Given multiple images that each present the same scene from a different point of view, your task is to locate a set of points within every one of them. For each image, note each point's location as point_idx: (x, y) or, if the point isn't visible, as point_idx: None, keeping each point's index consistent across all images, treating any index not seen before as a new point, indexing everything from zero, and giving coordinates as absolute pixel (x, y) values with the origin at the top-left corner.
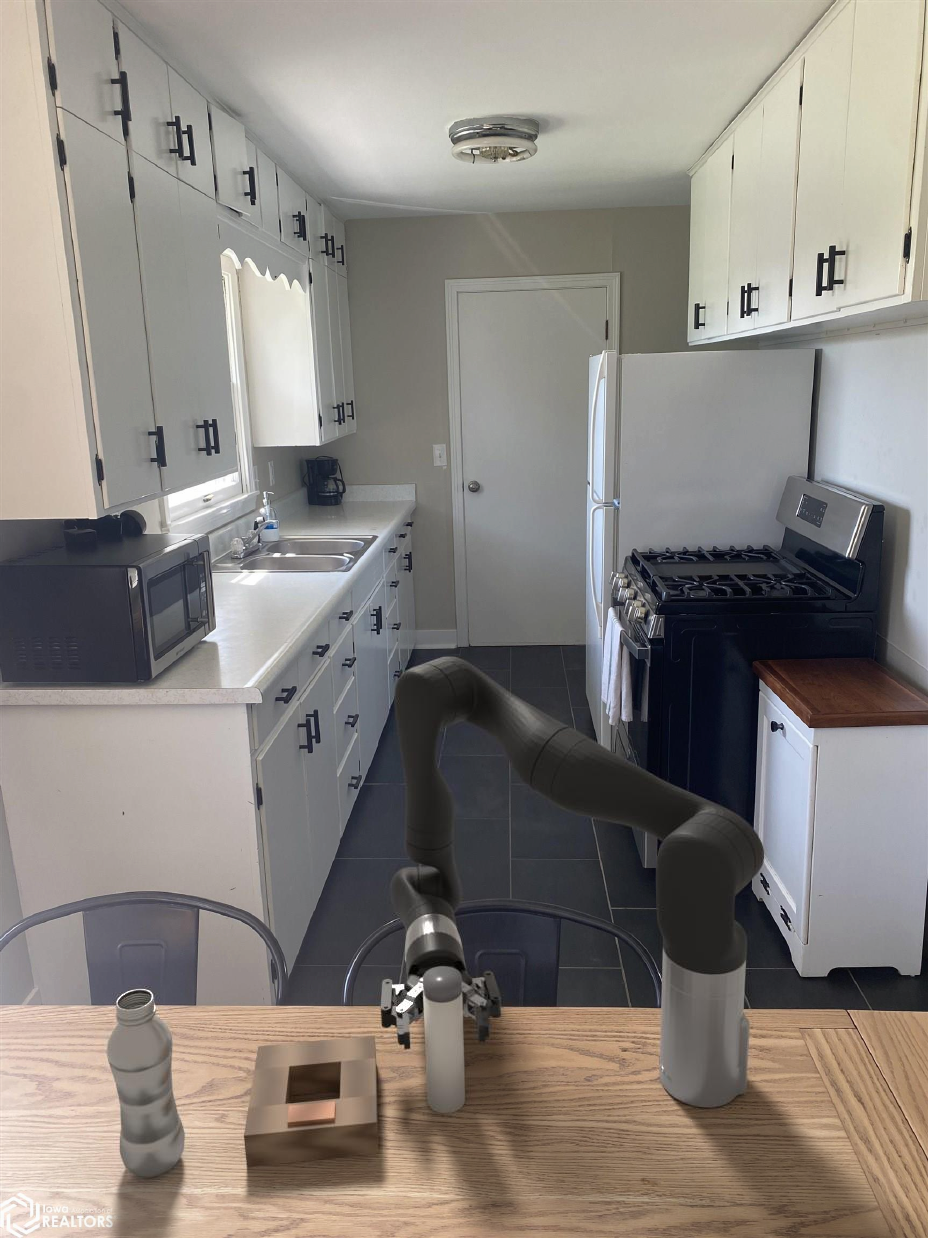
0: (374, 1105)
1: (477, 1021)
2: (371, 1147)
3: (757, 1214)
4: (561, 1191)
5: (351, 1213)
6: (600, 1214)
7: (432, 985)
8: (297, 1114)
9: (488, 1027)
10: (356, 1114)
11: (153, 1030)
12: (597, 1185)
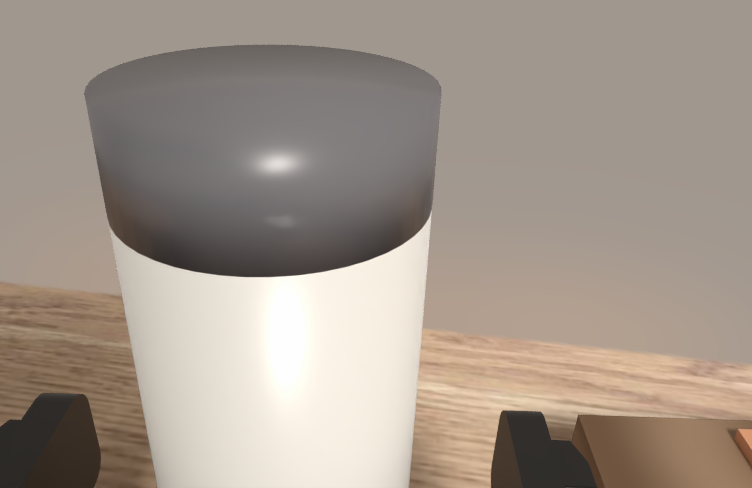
0: (608, 477)
1: (50, 455)
2: None
3: None
4: (96, 351)
5: (582, 369)
6: (54, 307)
7: (364, 61)
8: None
9: (12, 424)
10: (664, 451)
11: None
12: (6, 352)
